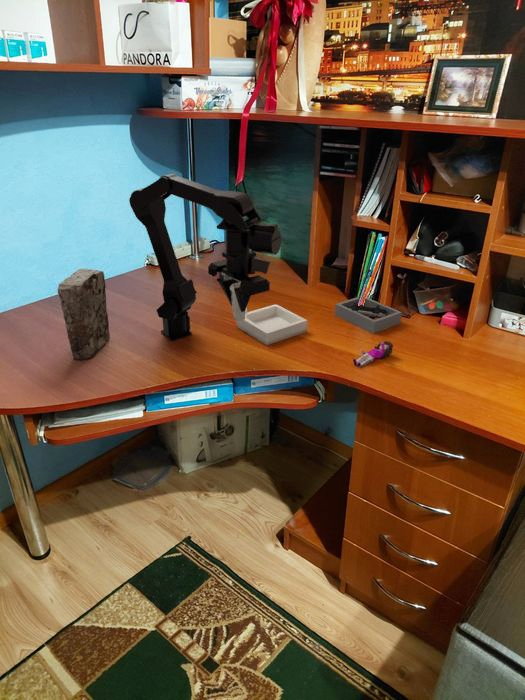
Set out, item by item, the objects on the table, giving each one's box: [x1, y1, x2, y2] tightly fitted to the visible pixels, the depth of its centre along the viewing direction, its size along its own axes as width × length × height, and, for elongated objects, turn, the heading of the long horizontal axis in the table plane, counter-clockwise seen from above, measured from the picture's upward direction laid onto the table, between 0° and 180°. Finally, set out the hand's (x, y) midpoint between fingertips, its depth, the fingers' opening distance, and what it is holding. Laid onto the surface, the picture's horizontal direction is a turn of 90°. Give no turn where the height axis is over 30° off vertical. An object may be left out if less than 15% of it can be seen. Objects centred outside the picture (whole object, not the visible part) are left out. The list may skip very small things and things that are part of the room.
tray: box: [236, 303, 308, 346], centre depth 149 cm, size 14×14×4 cm
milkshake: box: [230, 282, 248, 321], centre depth 132 cm, size 4×5×10 cm
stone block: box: [57, 268, 111, 361], centre depth 133 cm, size 13×7×20 cm, turn 175°
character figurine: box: [352, 340, 394, 368], centre depth 134 cm, size 6×5×12 cm
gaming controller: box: [349, 302, 387, 320], centre depth 155 cm, size 11×4×7 cm
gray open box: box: [334, 297, 403, 334], centre depth 155 cm, size 11×15×4 cm
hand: (238, 308), depth 134 cm, fingers closed on milkshake, 4 cm apart
